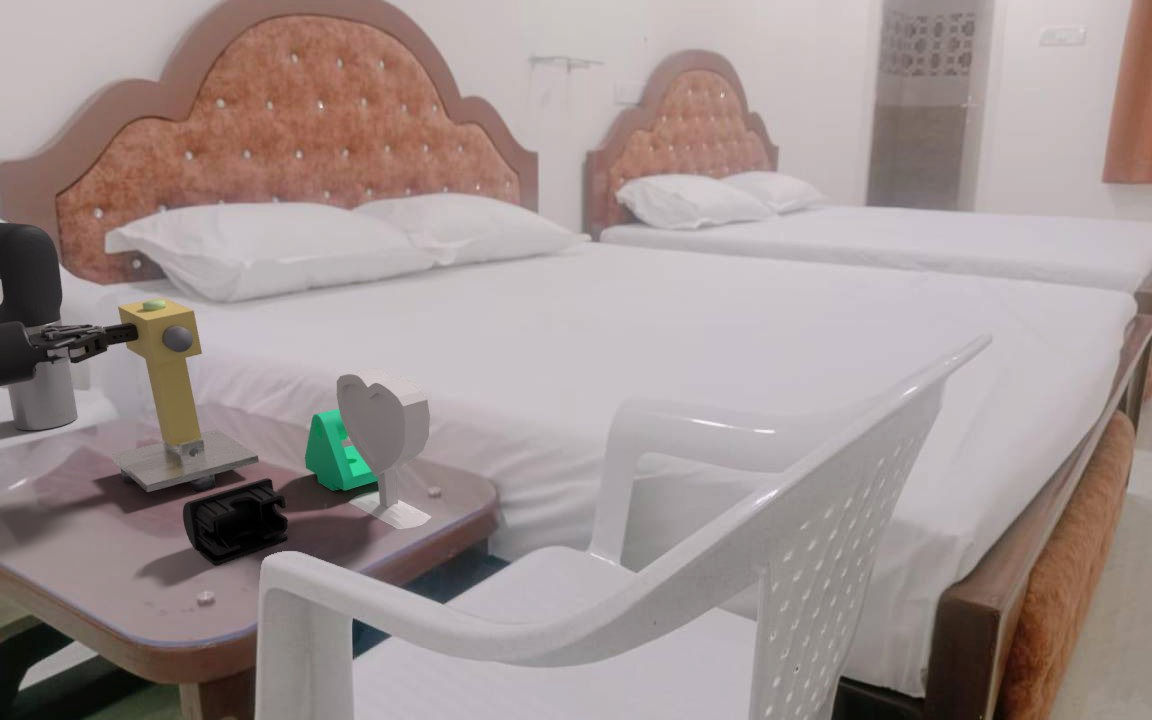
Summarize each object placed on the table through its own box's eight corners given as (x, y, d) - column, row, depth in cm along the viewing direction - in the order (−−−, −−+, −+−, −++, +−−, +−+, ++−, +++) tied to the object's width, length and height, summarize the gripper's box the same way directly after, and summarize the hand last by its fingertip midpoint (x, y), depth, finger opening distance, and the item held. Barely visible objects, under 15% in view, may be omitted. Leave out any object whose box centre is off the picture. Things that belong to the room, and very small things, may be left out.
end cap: (266, 521, 113) (260, 471, 111) (293, 539, 108) (287, 487, 106) (186, 548, 106) (178, 495, 104) (211, 569, 101) (203, 514, 99)
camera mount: (396, 482, 123) (389, 411, 120) (344, 498, 118) (336, 424, 115) (356, 461, 132) (349, 394, 129) (306, 475, 127) (298, 405, 124)
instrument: (141, 430, 130) (112, 298, 124) (183, 418, 134) (156, 290, 127) (180, 460, 118) (150, 316, 112) (225, 446, 122) (198, 306, 116)
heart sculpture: (340, 497, 119) (328, 368, 114) (373, 486, 123) (362, 360, 118) (407, 534, 109) (398, 393, 104) (441, 521, 112) (433, 384, 107)
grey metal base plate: (114, 474, 128) (108, 434, 126) (220, 447, 138) (215, 410, 136) (149, 506, 117) (142, 464, 116) (261, 475, 127) (256, 435, 125)
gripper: (-20, 375, 114) (125, 348, 125) (1, 399, 104) (156, 368, 115) (-33, 318, 112) (116, 296, 123) (-12, 337, 102) (147, 311, 113)
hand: (135, 331), depth 119 cm, fingers closed
